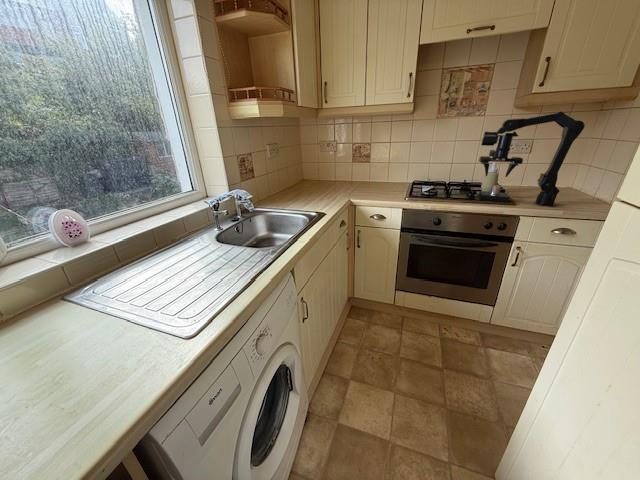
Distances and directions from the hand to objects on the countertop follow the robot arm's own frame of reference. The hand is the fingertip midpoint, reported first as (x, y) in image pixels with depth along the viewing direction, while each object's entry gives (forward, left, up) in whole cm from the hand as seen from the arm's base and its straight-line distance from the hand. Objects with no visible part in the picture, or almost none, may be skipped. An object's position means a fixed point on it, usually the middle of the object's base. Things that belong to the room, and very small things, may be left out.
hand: (496, 176), depth 141 cm
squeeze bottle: (0, -16, -13) cm, 20 cm away
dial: (-1, 0, -9) cm, 10 cm away
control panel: (-1, 0, -12) cm, 13 cm away
